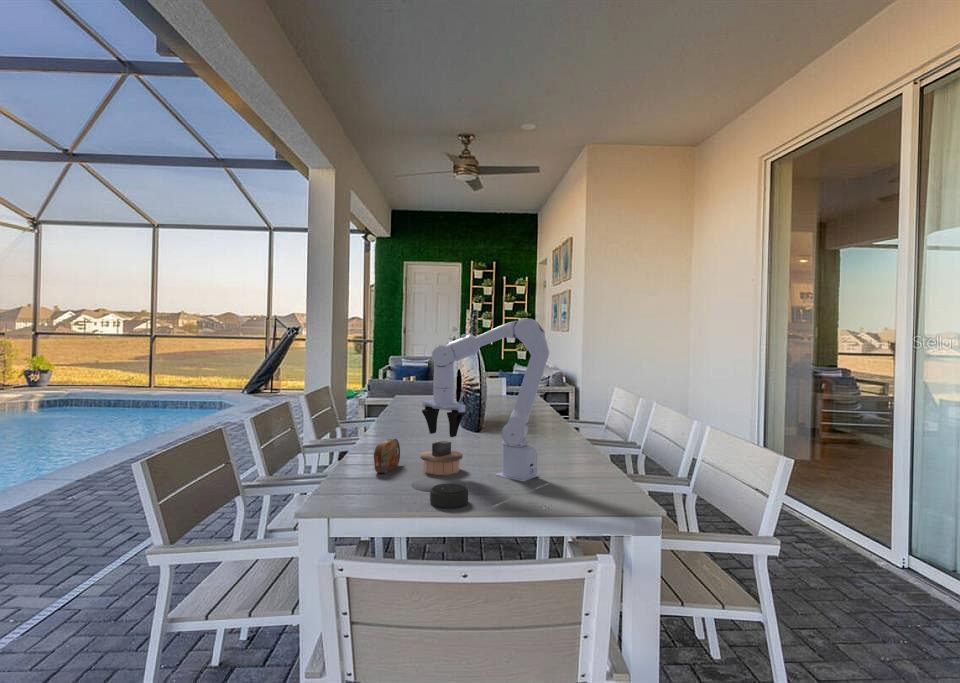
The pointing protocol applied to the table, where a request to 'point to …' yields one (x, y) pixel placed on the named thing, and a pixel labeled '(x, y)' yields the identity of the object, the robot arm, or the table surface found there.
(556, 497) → the table surface
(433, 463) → the bowl
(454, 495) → the smart speaker
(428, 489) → the coaster
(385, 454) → the tin
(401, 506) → the table surface
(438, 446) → the lid
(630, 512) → the table surface
